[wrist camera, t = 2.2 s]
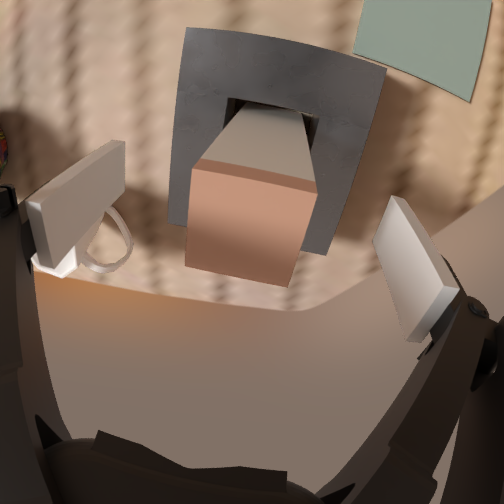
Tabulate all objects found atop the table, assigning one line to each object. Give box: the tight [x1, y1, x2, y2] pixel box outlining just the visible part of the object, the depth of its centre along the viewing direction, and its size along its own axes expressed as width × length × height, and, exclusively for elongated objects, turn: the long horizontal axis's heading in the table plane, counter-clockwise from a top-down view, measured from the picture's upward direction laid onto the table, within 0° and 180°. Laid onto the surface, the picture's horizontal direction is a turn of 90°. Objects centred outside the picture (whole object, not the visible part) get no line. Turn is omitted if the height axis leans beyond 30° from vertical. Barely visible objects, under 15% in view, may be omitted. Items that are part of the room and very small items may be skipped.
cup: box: [31, 206, 133, 278], centre depth 24 cm, size 7×10×8 cm
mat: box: [353, 0, 492, 102], centre depth 15 cm, size 10×10×1 cm
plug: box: [185, 102, 318, 288], centre depth 16 cm, size 4×4×14 cm
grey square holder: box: [168, 27, 387, 256], centre depth 20 cm, size 14×12×4 cm
